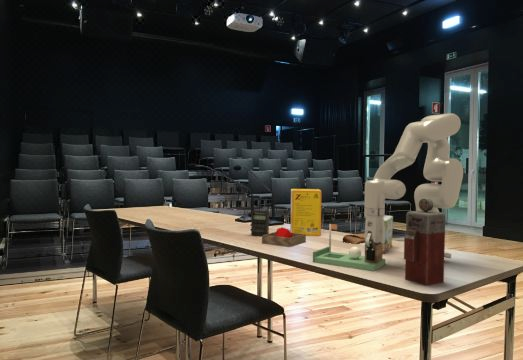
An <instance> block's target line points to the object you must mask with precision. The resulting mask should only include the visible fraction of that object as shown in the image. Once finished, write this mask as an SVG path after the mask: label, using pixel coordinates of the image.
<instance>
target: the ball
mask: <svg viewBox="0 0 523 360" xmlns="http://www.w3.org/2000/svg"><path fill="white" fill-rule="evenodd" d="M348 254H349V255H350V257H351V258H353V259H357V258H359V257H360V256H362V250H361V248H360V247H358V246H352V247H350V248H349V250H348Z"/></svg>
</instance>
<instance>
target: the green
mask: <svg viewBox="0 0 523 360" xmlns="http://www.w3.org/2000/svg"><path fill="white" fill-rule="evenodd" d="M328 225H329V227H328V228H329V229H328V230H329V231H328V233H329V234H328V246H326V247H323V248H320V249H317V250H315V251H312V263H316V264H317V263H318V264H323V263H324V265H330V264H331V266H337V267H345V268H350V267H351V268H352V269H358V270H364V271H371V272H374V271H376V270H378V269H379V268H382V267H383V266H384V265H386V258H383V257H382V261H381V262H379V263H378V264H377V263H369V262H365V255H361V256H360V257H359V258H357V259H353V258H351V257H350V255H349V253H342V252H335V251H332V230H338V224H333V223H329V224H328ZM351 268H350V269H351Z"/></svg>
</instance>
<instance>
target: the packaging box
mask: <svg viewBox="0 0 523 360" xmlns="http://www.w3.org/2000/svg"><path fill="white" fill-rule="evenodd" d="M289 231H290V232H291V233H299V234H306V237H322V190H321V189H319V188H316V189H315V188H291V189H290V229H289Z"/></svg>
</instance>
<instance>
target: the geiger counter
mask: <svg viewBox="0 0 523 360" xmlns="http://www.w3.org/2000/svg"><path fill="white" fill-rule="evenodd" d="M250 213H251V215H250V216H251V218H250V219H251V220H250V221H251V222H250V226H251V227H250V231H251V234H250V236H251V237H261V238H262V235H265V234H269V233H270V231H269V229H270V227H269V226H270V211H269V209H268V208H266V210H255V208H254V207H252V210H251V212H250Z"/></svg>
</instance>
